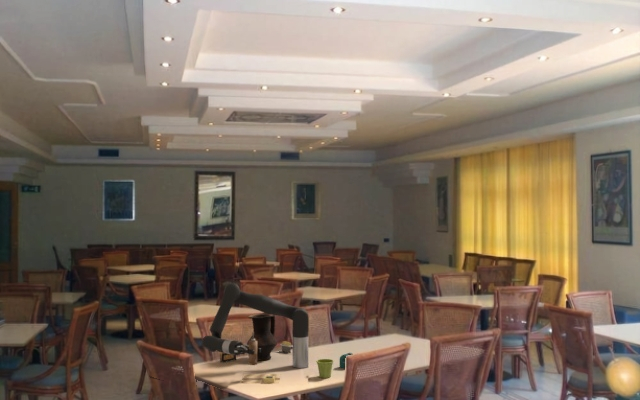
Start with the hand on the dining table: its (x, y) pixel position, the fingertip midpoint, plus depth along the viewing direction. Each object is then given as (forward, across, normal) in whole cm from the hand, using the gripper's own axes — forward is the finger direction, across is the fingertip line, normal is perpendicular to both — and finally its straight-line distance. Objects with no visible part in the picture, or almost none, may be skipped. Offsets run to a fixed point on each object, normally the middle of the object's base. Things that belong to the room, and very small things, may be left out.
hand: (256, 351), depth 338 cm
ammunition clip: (-45, +28, +17) cm, 56 cm away
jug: (-31, +44, +16) cm, 56 cm away
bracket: (+29, +54, +16) cm, 63 cm away
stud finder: (+8, +1, +15) cm, 17 cm away
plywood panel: (0, +3, +16) cm, 16 cm away
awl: (-3, 0, +7) cm, 7 cm away
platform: (-30, +67, +17) cm, 75 cm away
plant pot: (+24, +29, +16) cm, 41 cm away
